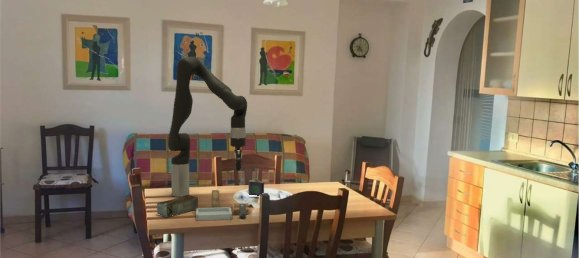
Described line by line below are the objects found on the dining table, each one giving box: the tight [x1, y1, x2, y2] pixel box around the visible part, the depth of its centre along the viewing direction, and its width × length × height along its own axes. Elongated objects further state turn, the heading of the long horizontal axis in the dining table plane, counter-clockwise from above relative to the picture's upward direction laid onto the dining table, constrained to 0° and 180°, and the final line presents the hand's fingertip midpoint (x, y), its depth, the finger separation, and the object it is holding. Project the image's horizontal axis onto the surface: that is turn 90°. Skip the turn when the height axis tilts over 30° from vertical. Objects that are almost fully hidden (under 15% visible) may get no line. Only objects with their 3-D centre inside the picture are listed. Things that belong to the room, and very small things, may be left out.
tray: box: [195, 206, 233, 221], centre depth 218 cm, size 11×16×2 cm
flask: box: [247, 177, 265, 196], centre depth 251 cm, size 9×3×11 cm, turn 65°
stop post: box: [238, 204, 247, 220], centre depth 216 cm, size 3×3×6 cm
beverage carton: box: [156, 194, 199, 218], centre depth 223 cm, size 8×19×7 cm, turn 143°
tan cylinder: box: [211, 189, 220, 208], centre depth 229 cm, size 4×4×9 cm
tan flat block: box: [232, 202, 249, 216], centre depth 226 cm, size 10×7×3 cm
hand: (238, 169), depth 233 cm, fingers open, 8 cm apart
